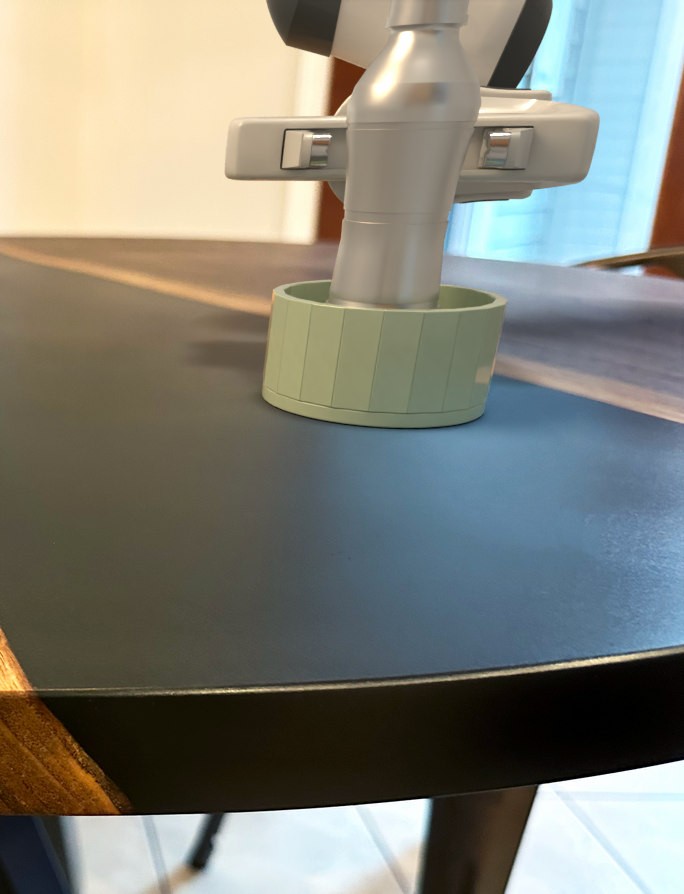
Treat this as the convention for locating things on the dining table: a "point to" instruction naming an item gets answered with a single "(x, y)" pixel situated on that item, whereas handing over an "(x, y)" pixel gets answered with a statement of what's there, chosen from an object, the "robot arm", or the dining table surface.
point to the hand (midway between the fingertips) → (406, 150)
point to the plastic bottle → (405, 158)
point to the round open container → (382, 357)
